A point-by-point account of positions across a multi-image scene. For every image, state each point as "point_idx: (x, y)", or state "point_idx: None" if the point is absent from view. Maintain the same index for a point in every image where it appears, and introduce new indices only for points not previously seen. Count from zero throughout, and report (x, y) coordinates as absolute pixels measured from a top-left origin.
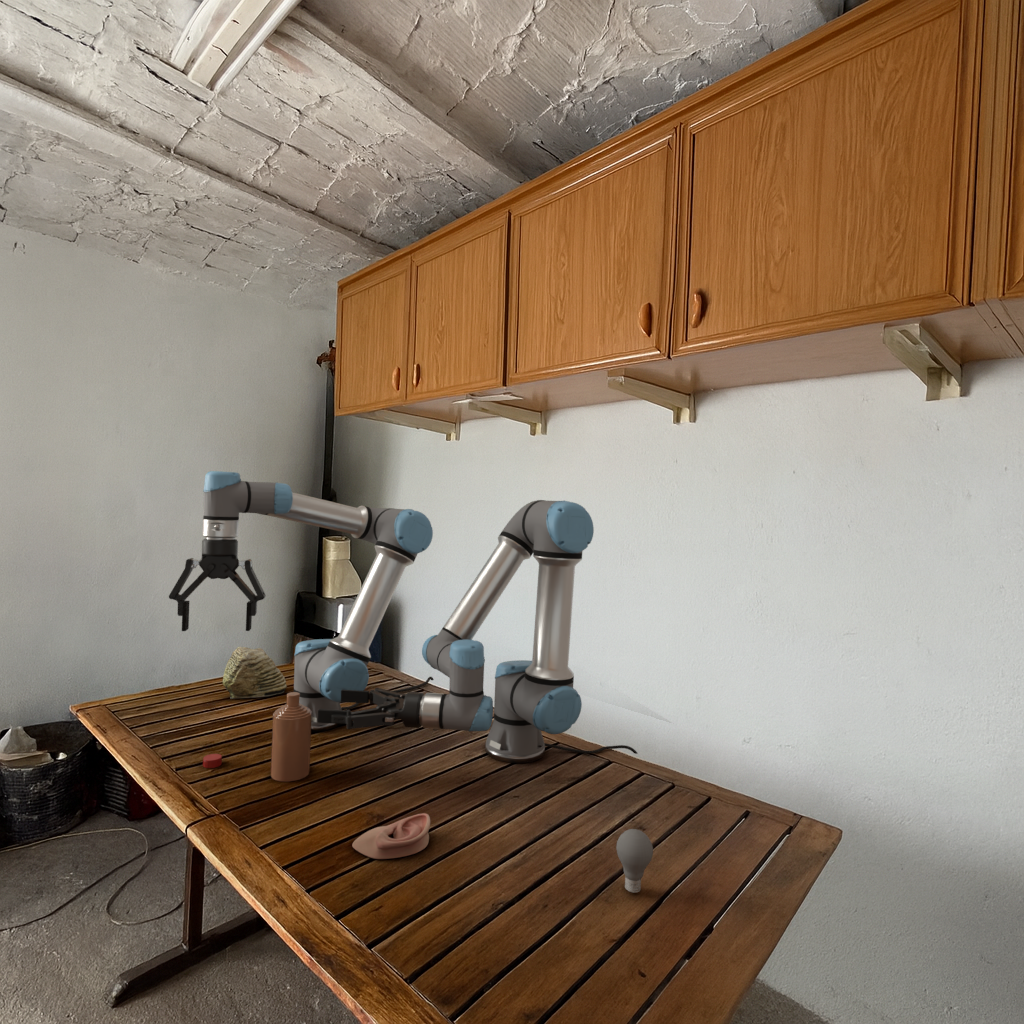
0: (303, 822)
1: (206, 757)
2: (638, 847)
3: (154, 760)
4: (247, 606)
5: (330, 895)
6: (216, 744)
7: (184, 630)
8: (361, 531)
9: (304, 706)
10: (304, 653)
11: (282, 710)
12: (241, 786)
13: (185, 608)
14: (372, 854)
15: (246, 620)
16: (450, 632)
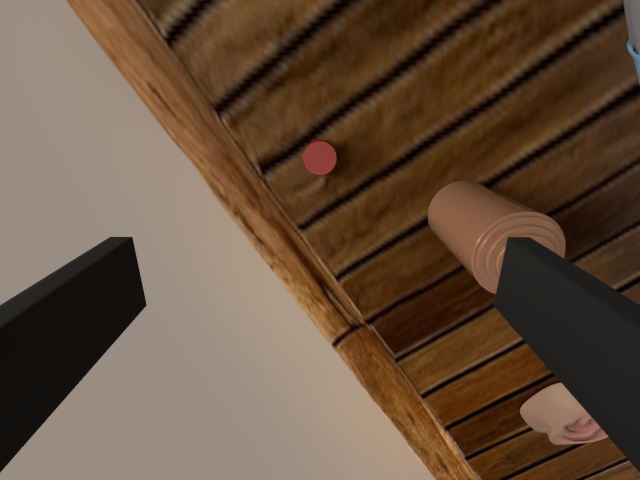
0: (471, 355)
1: (308, 159)
2: None
3: (204, 120)
4: (625, 446)
5: (485, 465)
6: (303, 38)
7: (140, 308)
8: None
9: (555, 244)
10: None
11: (499, 276)
12: (383, 249)
13: (36, 427)
14: (537, 430)
15: (533, 349)
16: None
